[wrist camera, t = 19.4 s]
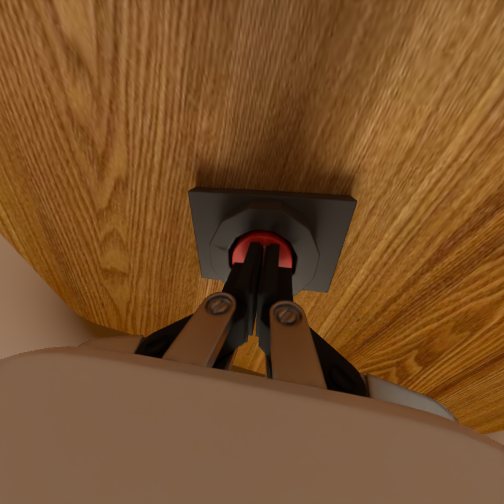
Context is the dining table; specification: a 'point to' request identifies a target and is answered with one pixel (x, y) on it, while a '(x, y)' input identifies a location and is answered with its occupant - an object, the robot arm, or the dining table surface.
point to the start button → (265, 240)
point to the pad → (272, 229)
